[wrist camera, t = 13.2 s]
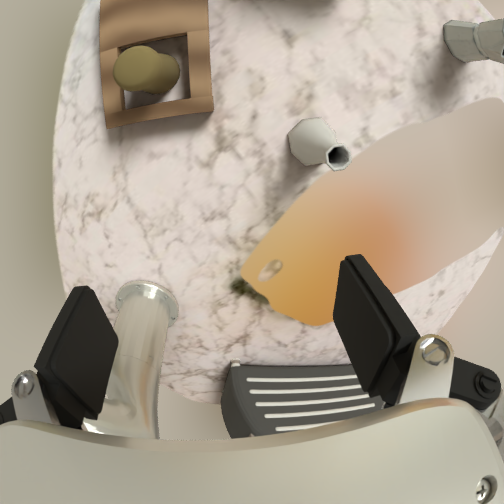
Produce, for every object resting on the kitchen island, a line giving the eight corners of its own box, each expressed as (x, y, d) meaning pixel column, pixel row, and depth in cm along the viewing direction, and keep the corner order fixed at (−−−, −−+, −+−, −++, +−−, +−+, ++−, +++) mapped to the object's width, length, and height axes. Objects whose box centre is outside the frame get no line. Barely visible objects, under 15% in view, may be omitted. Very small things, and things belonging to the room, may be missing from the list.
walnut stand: (213, 109, 32) (212, 111, 30) (116, 125, 32) (106, 129, 29) (208, -27, 20) (206, -37, 18) (110, -6, 20) (101, -13, 17)
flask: (343, 151, 37) (375, 171, 29) (301, 173, 39) (323, 198, 30) (323, 108, 33) (353, 115, 25) (278, 131, 35) (296, 143, 26)
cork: (130, 66, 27) (96, 59, 18) (171, 46, 27) (149, 29, 17) (146, 101, 31) (116, 106, 21) (186, 82, 30) (170, 77, 21)
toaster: (354, 389, 79) (373, 449, 59) (219, 393, 70) (223, 469, 50) (383, 355, 69) (412, 423, 49) (229, 356, 60) (235, 452, 40)
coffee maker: (453, 73, 29) (532, 88, 14) (429, 31, 25) (510, 29, 10) (485, 47, 24) (553, 58, 9) (465, 9, 20) (534, 10, 5)
